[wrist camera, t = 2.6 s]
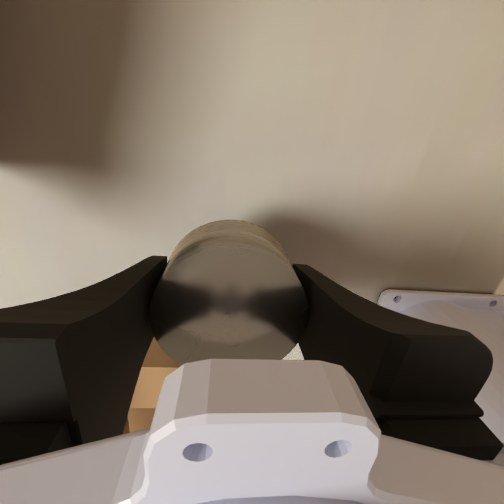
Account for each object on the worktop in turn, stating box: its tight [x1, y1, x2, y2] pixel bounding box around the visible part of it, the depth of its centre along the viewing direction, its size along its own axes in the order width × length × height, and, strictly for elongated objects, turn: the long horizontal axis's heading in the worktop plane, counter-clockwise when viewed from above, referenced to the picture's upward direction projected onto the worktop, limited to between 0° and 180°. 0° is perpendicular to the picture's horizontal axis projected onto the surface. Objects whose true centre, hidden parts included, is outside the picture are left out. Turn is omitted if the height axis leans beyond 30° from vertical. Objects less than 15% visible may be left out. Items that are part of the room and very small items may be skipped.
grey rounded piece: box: [149, 220, 308, 366], centre depth 12 cm, size 6×6×6 cm
